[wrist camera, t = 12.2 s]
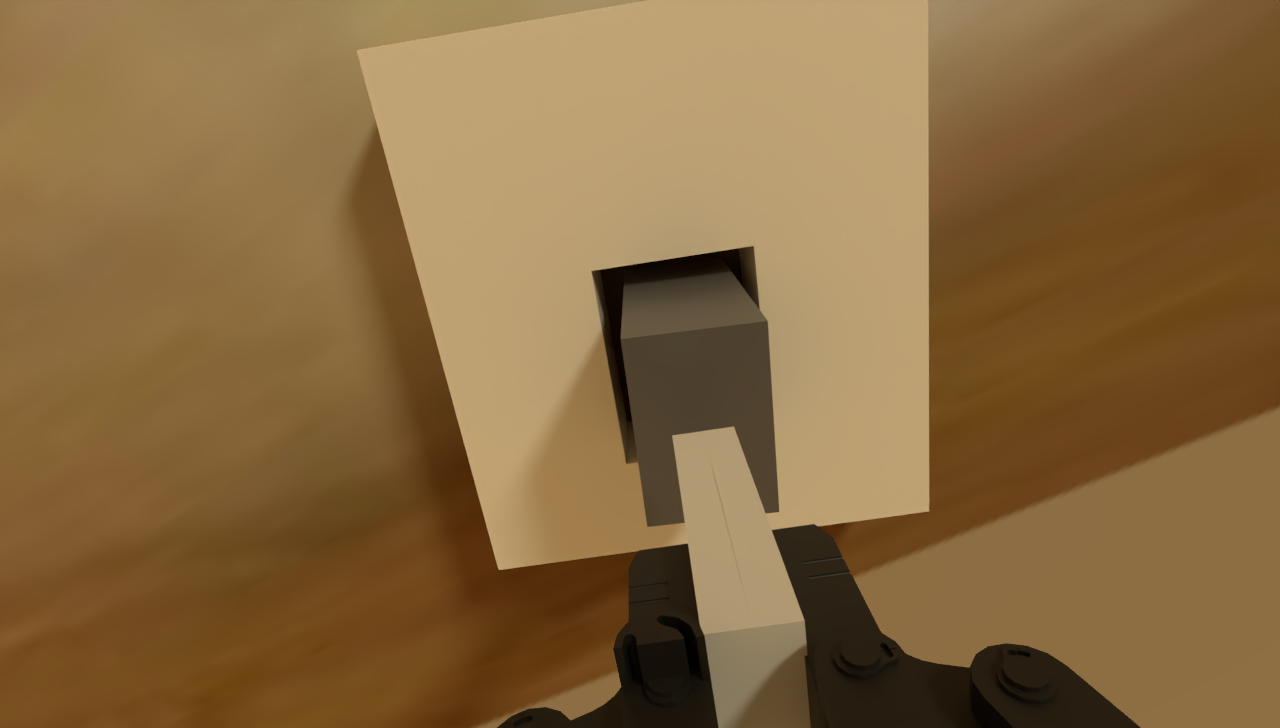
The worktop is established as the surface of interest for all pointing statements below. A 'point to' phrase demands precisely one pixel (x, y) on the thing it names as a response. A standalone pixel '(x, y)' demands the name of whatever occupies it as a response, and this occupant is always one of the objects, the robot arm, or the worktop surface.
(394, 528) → the worktop surface
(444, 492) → the worktop surface
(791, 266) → the socket plate
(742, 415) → the plug
